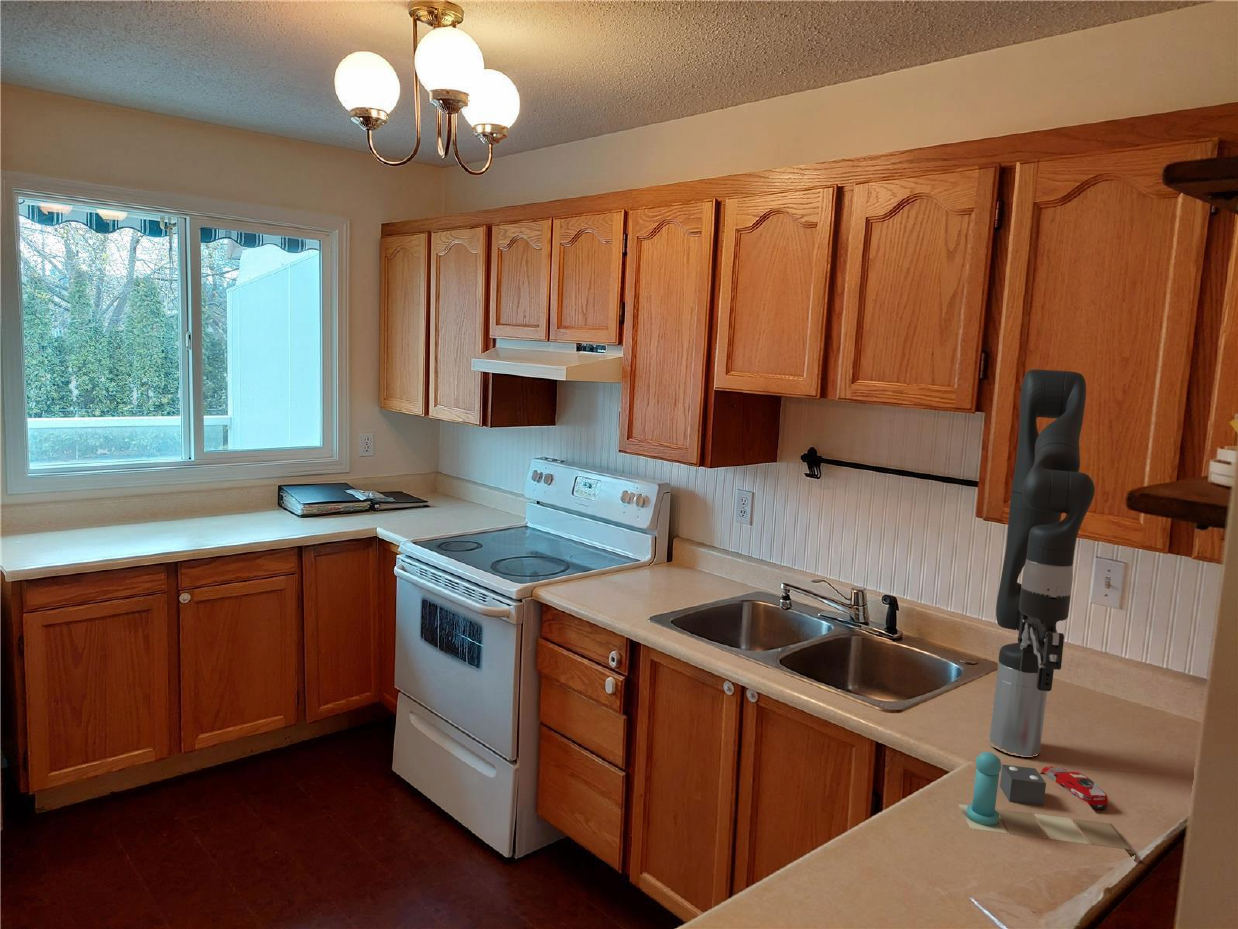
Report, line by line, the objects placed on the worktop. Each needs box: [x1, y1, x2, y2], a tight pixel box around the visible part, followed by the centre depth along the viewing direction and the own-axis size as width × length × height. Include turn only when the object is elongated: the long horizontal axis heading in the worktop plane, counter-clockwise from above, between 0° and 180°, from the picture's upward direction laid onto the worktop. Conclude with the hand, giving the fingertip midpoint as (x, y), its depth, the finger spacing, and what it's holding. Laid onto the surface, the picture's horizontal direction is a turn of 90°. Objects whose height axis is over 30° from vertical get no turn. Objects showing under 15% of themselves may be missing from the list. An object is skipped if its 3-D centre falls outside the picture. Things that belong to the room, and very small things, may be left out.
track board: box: [958, 803, 1137, 858], centre depth 137 cm, size 9×25×2 cm, turn 81°
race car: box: [1039, 766, 1109, 810], centre depth 152 cm, size 13×5×4 cm, turn 11°
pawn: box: [966, 751, 1002, 826], centre depth 137 cm, size 5×5×11 cm
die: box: [999, 763, 1047, 807], centre depth 146 cm, size 6×6×6 cm
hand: (1034, 681), depth 144 cm, fingers open, 8 cm apart
